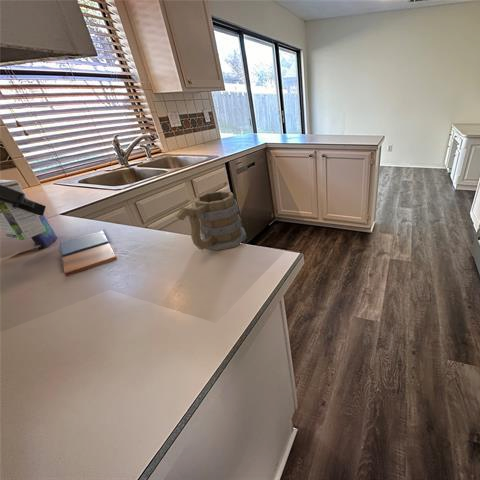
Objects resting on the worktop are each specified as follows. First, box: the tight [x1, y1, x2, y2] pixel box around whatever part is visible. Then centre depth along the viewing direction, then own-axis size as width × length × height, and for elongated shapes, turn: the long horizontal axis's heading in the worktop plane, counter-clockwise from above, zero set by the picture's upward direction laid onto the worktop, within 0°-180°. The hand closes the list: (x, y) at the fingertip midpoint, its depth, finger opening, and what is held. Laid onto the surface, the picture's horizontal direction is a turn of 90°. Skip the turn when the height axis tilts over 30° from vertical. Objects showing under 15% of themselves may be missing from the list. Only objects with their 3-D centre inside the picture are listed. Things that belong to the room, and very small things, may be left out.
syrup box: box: [0, 179, 46, 241], centre depth 67 cm, size 6×6×14 cm
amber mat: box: [61, 243, 118, 277], centre depth 73 cm, size 11×11×1 cm
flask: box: [30, 213, 58, 250], centre depth 82 cm, size 9×3×11 cm, turn 24°
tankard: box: [176, 190, 248, 252], centre depth 75 cm, size 20×13×15 cm, turn 159°
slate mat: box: [59, 230, 110, 257], centre depth 82 cm, size 11×11×1 cm
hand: (30, 211), depth 71 cm, fingers closed on syrup box, 6 cm apart
